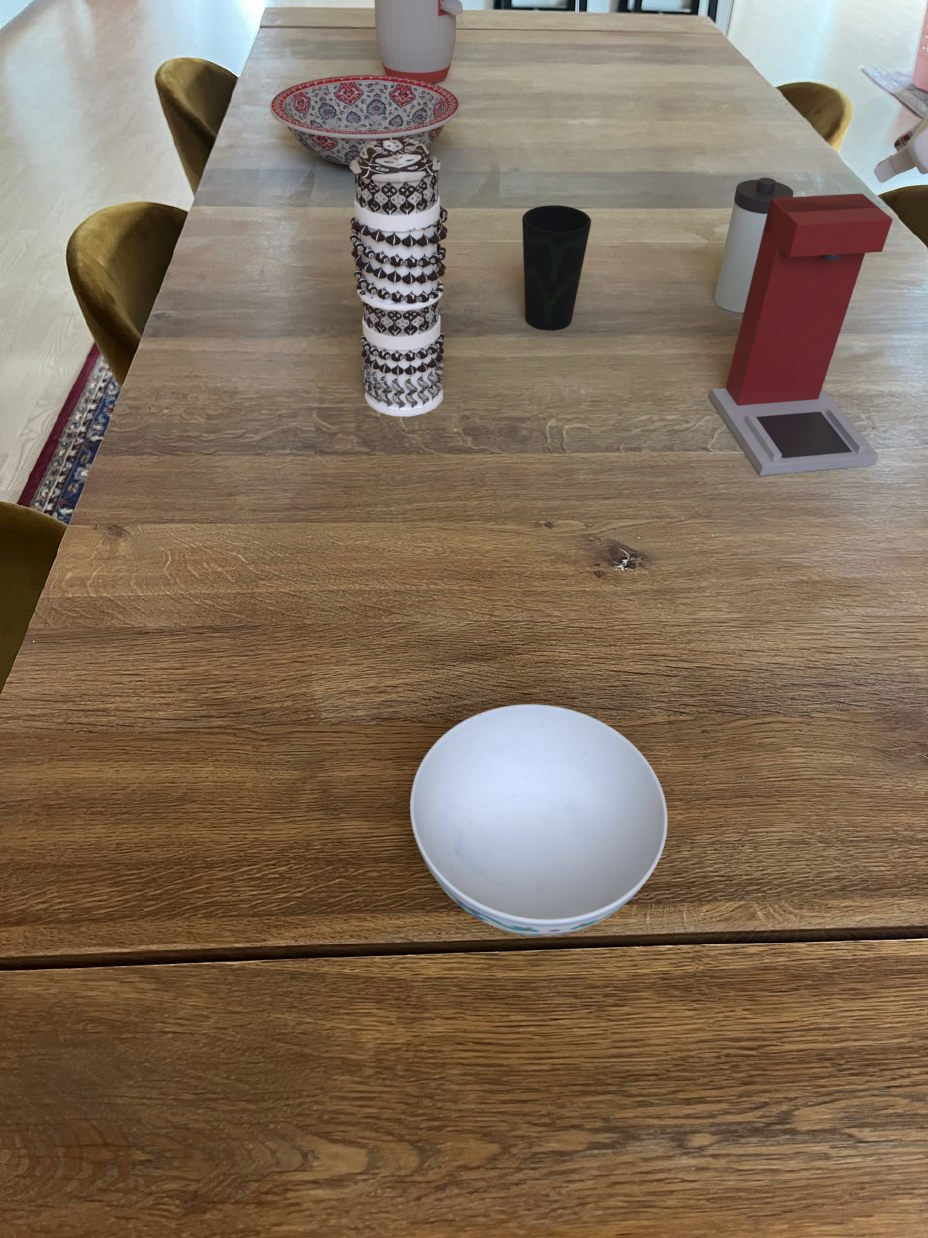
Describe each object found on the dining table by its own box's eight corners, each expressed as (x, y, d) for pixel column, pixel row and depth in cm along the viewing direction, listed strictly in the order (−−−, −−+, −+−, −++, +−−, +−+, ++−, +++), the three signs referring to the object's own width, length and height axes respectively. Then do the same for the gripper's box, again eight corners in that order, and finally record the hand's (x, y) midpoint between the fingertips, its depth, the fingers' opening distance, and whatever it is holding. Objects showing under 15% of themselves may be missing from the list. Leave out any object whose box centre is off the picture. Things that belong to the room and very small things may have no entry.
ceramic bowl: (495, 167, 148) (497, 112, 142) (331, 206, 136) (327, 148, 131) (398, 116, 165) (396, 64, 159) (245, 146, 153) (238, 92, 147)
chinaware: (452, 752, 67) (453, 681, 62) (663, 806, 64) (683, 735, 59) (379, 944, 57) (372, 878, 51) (625, 1017, 54) (645, 956, 48)
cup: (548, 341, 109) (556, 238, 101) (503, 317, 113) (508, 216, 105) (593, 320, 113) (605, 220, 104) (548, 298, 117) (556, 199, 108)
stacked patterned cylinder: (454, 415, 98) (455, 162, 80) (365, 422, 97) (347, 167, 79) (441, 370, 104) (440, 126, 87) (357, 376, 103) (339, 131, 85)
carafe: (775, 301, 117) (807, 181, 107) (746, 318, 114) (776, 195, 104) (732, 284, 120) (758, 165, 110) (702, 300, 117) (727, 179, 107)
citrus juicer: (434, 96, 173) (434, -34, 159) (359, 79, 180) (352, -47, 166) (480, 76, 183) (483, -49, 169) (407, 60, 189) (404, -61, 175)
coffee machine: (874, 465, 93) (956, 256, 78) (759, 476, 91) (821, 264, 76) (814, 390, 102) (877, 192, 88) (709, 398, 101) (755, 198, 86)
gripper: (1026, 20, 96) (894, 108, 106) (995, 68, 83) (850, 163, 93) (1053, 76, 97) (921, 158, 108) (1027, 132, 85) (881, 218, 95)
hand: (887, 160), depth 100 cm, fingers open, 8 cm apart
